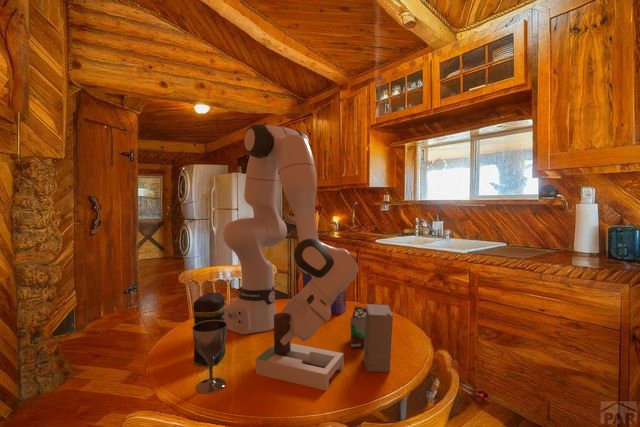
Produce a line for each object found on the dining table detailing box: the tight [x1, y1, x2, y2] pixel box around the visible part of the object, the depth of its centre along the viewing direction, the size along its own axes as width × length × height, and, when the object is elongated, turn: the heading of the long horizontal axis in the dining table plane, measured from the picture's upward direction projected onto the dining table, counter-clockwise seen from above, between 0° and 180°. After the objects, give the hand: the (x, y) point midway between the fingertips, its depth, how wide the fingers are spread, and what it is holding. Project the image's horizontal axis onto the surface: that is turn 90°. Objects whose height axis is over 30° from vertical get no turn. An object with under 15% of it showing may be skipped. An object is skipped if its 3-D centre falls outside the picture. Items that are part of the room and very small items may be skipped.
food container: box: [349, 305, 366, 350], centre depth 108 cm, size 12×6×10 cm, turn 168°
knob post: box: [273, 312, 291, 357], centre depth 93 cm, size 5×5×14 cm
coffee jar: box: [192, 292, 226, 366], centre depth 98 cm, size 10×8×19 cm
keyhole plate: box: [255, 342, 345, 392], centre depth 91 cm, size 20×12×4 cm, turn 66°
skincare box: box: [362, 303, 394, 373], centre depth 94 cm, size 8×7×16 cm
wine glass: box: [192, 320, 228, 395], centre depth 84 cm, size 8×8×15 cm
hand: (279, 338), depth 93 cm, fingers closed on knob post, 4 cm apart
